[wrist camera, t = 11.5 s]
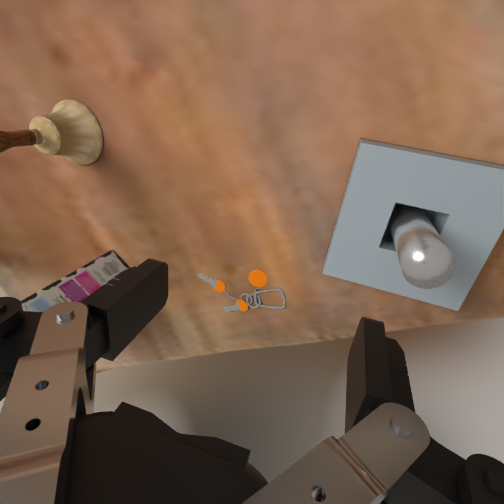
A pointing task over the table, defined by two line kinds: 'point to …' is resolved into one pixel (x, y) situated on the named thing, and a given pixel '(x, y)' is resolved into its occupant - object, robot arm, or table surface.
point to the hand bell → (61, 133)
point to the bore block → (434, 206)
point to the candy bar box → (76, 283)
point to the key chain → (256, 280)
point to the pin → (420, 248)
